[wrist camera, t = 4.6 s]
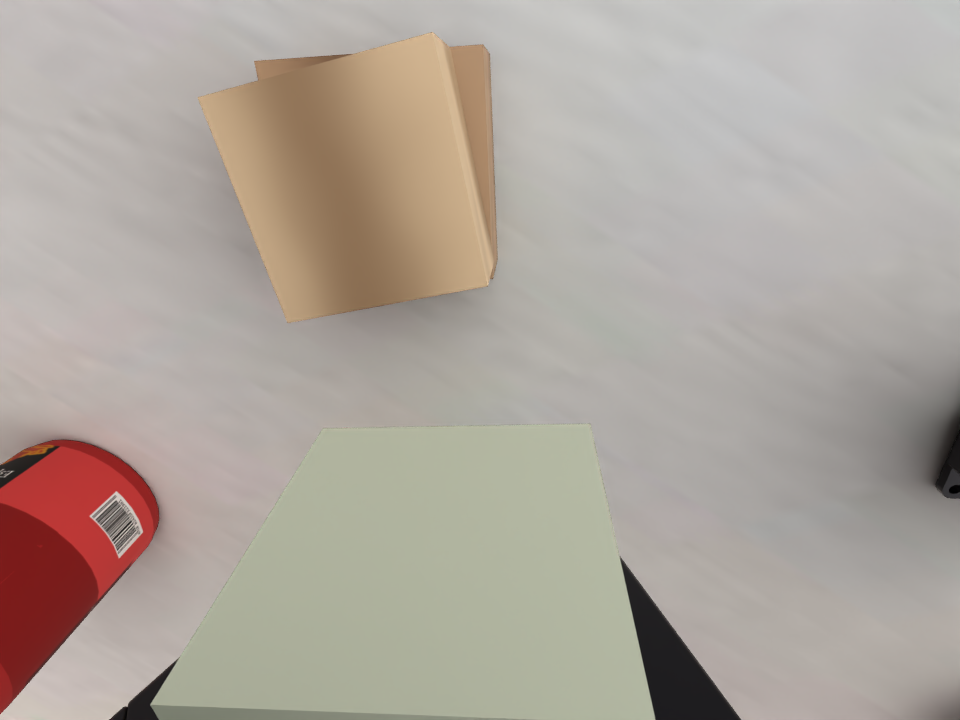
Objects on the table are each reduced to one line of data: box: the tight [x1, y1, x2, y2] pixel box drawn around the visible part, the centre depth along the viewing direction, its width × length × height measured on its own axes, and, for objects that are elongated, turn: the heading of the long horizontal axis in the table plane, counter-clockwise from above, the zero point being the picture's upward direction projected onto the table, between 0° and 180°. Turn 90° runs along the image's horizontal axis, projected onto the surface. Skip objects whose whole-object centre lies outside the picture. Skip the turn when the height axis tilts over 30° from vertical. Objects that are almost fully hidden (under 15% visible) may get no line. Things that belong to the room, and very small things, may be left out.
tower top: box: [198, 32, 494, 323], centre depth 15 cm, size 6×6×3 cm
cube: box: [150, 424, 655, 720], centre depth 8 cm, size 5×5×5 cm
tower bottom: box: [254, 45, 497, 279], centre depth 18 cm, size 7×7×3 cm
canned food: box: [0, 440, 159, 714], centre depth 23 cm, size 8×8×11 cm
